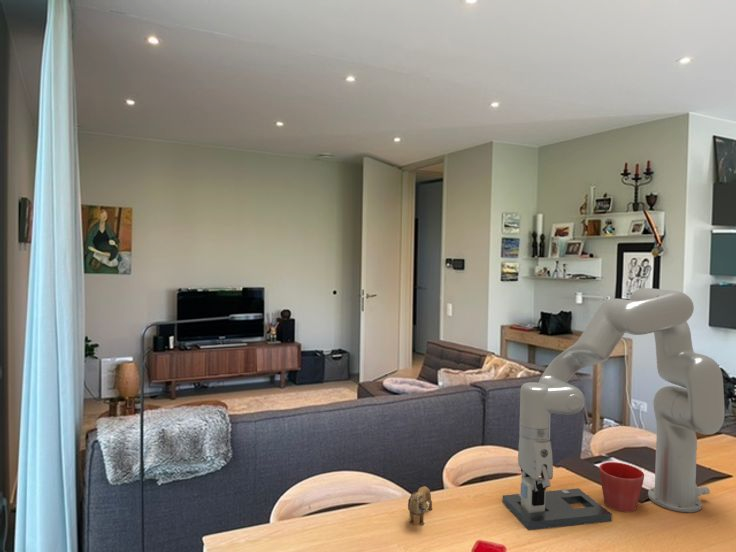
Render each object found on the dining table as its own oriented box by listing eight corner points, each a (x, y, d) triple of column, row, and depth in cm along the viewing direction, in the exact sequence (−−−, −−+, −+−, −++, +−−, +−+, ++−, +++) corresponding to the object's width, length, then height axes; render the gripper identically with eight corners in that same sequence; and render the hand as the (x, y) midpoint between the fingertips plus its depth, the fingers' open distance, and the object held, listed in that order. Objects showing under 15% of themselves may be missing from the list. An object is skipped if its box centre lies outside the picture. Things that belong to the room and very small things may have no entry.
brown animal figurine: (427, 534, 122) (428, 498, 121) (405, 531, 123) (406, 495, 122) (433, 505, 136) (434, 472, 135) (414, 502, 137) (414, 470, 137)
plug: (535, 505, 134) (536, 476, 134) (544, 513, 130) (545, 483, 129) (517, 507, 133) (518, 477, 133) (526, 515, 129) (527, 485, 128)
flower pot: (649, 517, 130) (650, 480, 130) (603, 512, 133) (604, 476, 132) (636, 498, 141) (637, 463, 140) (594, 493, 143) (595, 460, 143)
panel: (578, 495, 142) (578, 487, 142) (611, 521, 128) (611, 512, 128) (502, 502, 137) (502, 494, 137) (528, 530, 124) (528, 521, 124)
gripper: (566, 442, 123) (564, 515, 124) (531, 420, 140) (529, 484, 140) (538, 444, 122) (536, 518, 122) (506, 421, 138) (504, 487, 139)
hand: (533, 499), depth 131 cm, fingers closed on plug, 4 cm apart
